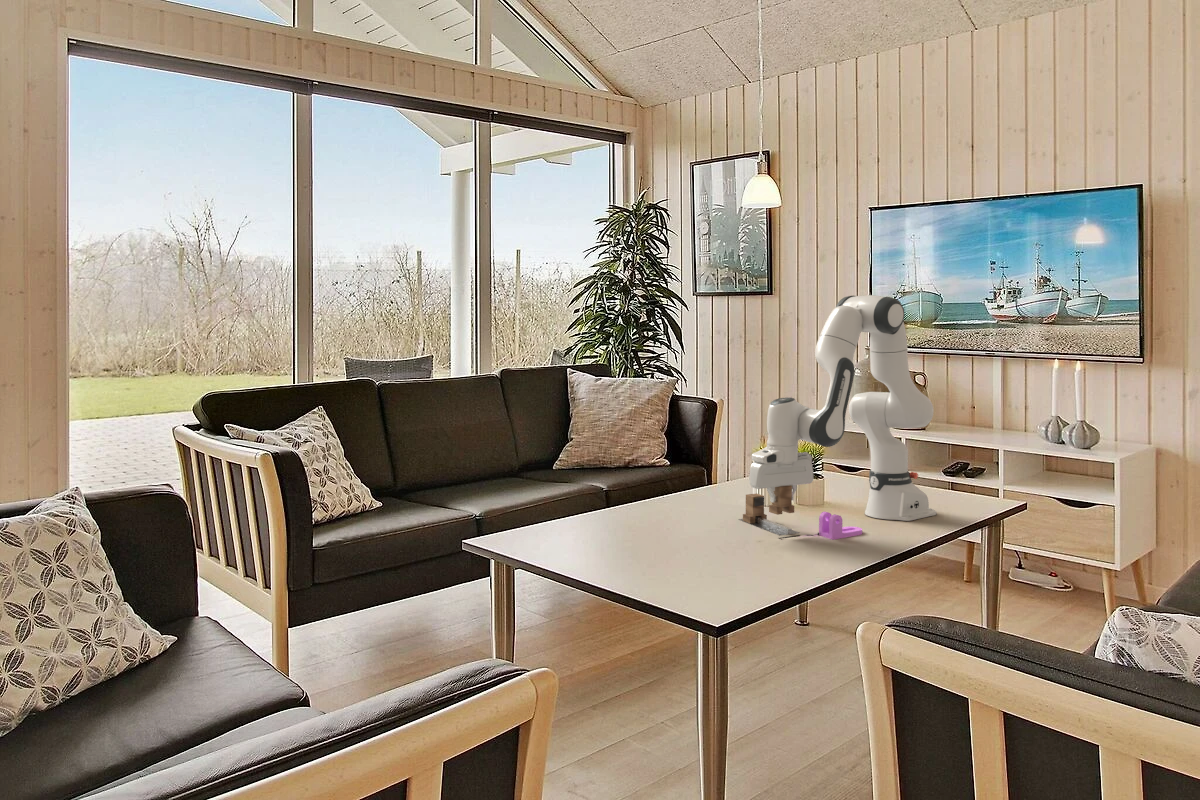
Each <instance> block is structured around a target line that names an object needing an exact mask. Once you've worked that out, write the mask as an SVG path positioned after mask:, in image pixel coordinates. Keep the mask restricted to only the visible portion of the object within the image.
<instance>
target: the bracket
mask: <svg viewBox="0 0 1200 800" xmlns="http://www.w3.org/2000/svg"><path fill="white" fill-rule="evenodd" d="M862 534H863V528H862V527H859V526H843V518H842V516H841V515H839V514H832V513H831V512H828V511H822V512H821V513H820V515H819V517H818V536H819V537H822V538H826V539H829V540H837V539H844V538H848V537H854V536H855V537H856V536H861V535H862Z"/></svg>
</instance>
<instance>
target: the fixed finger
mask: <svg viewBox="0 0 1200 800" xmlns="http://www.w3.org/2000/svg"><path fill="white" fill-rule="evenodd" d="M755 516H758V517H761V518H764V519H767V518H768V515H767V514H766V513H765V495H762V494H760V493H749V494H745V513H743V514H742V519H743V521H745V522H748V523H755ZM767 520H768V519H767ZM743 521H742V522H743ZM745 522H744V523H745ZM748 523H747V524H748Z"/></svg>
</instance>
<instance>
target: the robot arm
mask: <svg viewBox="0 0 1200 800" xmlns="http://www.w3.org/2000/svg"><path fill="white" fill-rule="evenodd" d="M904 321H905V308H904V307H903V304H902V303H901V301H900V300H899V299H897V298H894V297H891V296H881V295H876V294H875V295H873V294H868V295H848V296H845V297H843V298H841V299H840V300H839V301H838V302H837V304H836V306H835V307H834V308H833V309H832V310H831V312H830V314H829V315H828V317H827V319H826V321H825V323H824V325H823V327H822V329H821V331H820V333H819V337H818V339H817V341H816V345H815V350H814V357H815V360H816V362H817V364H818V365H819V367H821V368H822V370H824V371H825V372H826V373H827V374H828V375H829V379H830V383H829V387H828V391H827V396H826V400H825V404H824V406H823V408H822V409H815V408H810V407H808V406H805V405H803V404H801V403H800V402H799V401H797V400H796V398H795V397H794V398H793V397H787V396H786V397H780V398H776V399H773V400H772V401H770V403H769V404H768V408H767V416H766V431H767V434H768V435H767V440H766V446H765V447H763V448H762V449H760V450H758V451H755V452H753V453H752V454H751V461H752V463H751V464H750V467H749V468H750V469H749V480H748V481H749V485H750V486H751V488H753V489H757V490H760V489H766V491H767V493H768V495H769V501H770V502H771V503H772V502H778V500H777V499H778V496H775V494H774V492H773V491H775V487H781V486H792V501H794V494H795V493H796V491H797V488H798V486H800V485H808V484H812V483H813V481H814V470H813V464H812V463H813V457H812V455H811V454H810V453H809V452H807V451H804V452H799V448H798V447H799V443H798V442H799V441H805V442H808V443H812V444H816V445H819V446H822V447H824V448H828V447H829V448H830V447H833V446H835V445H836V444H838V443H839V442H840V440H841V439H842V438H843V435H845V434H844V433H845V428H846V414H847V413H846V412H847V410H848V415H849V417H850V419H851V421H852V422H853V423H854V424H855V425H857V426H858V427H859V428H860V429H861V430H862V432H863V433H864V434H865V436H866V438H867V441H868V444H869V449H870V470H869V475H868V479H869V480H868V481H869V491H868V499H867V503H866V507H865V511H864V515H866V516H868V517H870V518H875V519H880V520H893V521H894V520H896V521H904V522H906V521H907V522H911V521H913V520H914V521H915V520H919V519H924V518H927V517H931V516H932V517H933V516H936V515H937V514H938V513H937V511H936V510H935V509H933V508H930V506H929V505H930V503H929V498H928V496H927V495H928V494H926V493H925V492H924V491H923V490H922V489H920V488H919V487H918V486H917V485H915V484H914V483H913V481H912V480H913V479H915V480H917V479H918V478H919V473H918V472H914V471H911V472H910V471H908V469H909V468H908V466H909V465H908V463H909V462H908V461H909V460H908V459H909V458H908V457H909V449H908V447H907V445H906V444H905V443H904V442H903V441H902V440H901V439H898V438H897V437H895V436H894V435H893V434H892V432H891V430H890V428H896V429H897V428H898V429H910V430H911V429H919V428H925V427H927V426H928V425H929V424H930V423H931V421H932V420H933V417H934V411H935V409H934V405H933V403H932V401H931V399H930V398H929V397H928V396H927V395H926V394H924V393H923V392H921V391H920V389H918V388H917V386H916V385H915V383H914V381H913V379H912V377H911V373H910V370H909V369H910V368H909V357H908V355H909V354H908V340H907V339H908V338H907V331H906V326H905V322H904ZM861 333H869V336H870V337H869V361H870V366H869V367H870V373H871V376H872V377H873V378H874V379H875V380H876V381H878V382H880V383H882V384H883V385H885V386H886V387H887V389H888V392H887V391H885V392H883V391H866V392H865V391H864V392H861V393H856V394H854V395H853V397H851V399H850V396H851V391H852V387H853V383H854V378H855V365H854V356H855V352H856V349H857V346H858V343H859V339H860V337H861V336H860V335H861ZM849 400H850V401H849Z"/></svg>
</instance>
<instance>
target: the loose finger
mask: <svg viewBox="0 0 1200 800" xmlns="http://www.w3.org/2000/svg"><path fill="white" fill-rule="evenodd" d="M773 492H774V494H775V496H778V499H777V500H778V502H771V504H769V505H768V513H771V514H774V515H783V512H784V513H788V514H794V513H795V505H793V504H792V503H793V502H792V501H793V500H792V486H781V487H775V491H773Z"/></svg>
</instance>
